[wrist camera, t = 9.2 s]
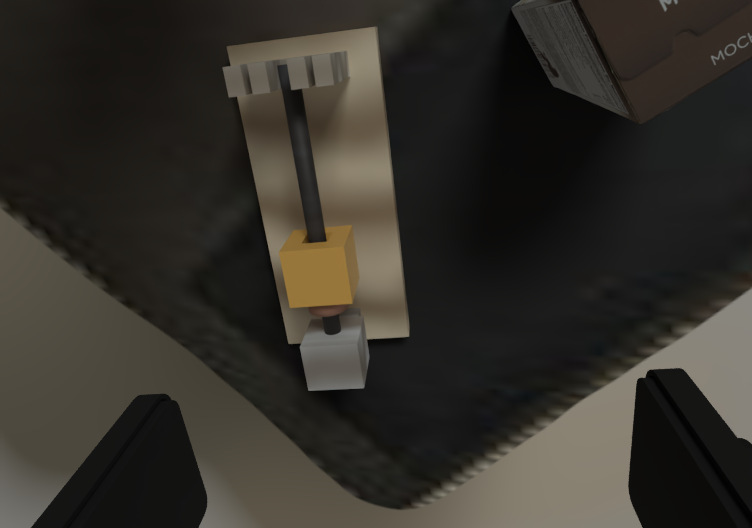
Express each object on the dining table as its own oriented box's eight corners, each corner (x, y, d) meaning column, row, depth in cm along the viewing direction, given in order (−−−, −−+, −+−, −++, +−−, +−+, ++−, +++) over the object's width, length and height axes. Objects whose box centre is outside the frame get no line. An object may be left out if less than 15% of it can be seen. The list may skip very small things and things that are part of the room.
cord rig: (234, 46, 37) (182, 48, 29) (377, 27, 36) (363, 24, 28) (292, 335, 46) (265, 398, 38) (409, 328, 44) (406, 391, 37)
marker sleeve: (293, 230, 38) (278, 252, 34) (352, 225, 37) (343, 246, 33) (303, 281, 39) (290, 308, 35) (359, 277, 39) (352, 303, 35)
